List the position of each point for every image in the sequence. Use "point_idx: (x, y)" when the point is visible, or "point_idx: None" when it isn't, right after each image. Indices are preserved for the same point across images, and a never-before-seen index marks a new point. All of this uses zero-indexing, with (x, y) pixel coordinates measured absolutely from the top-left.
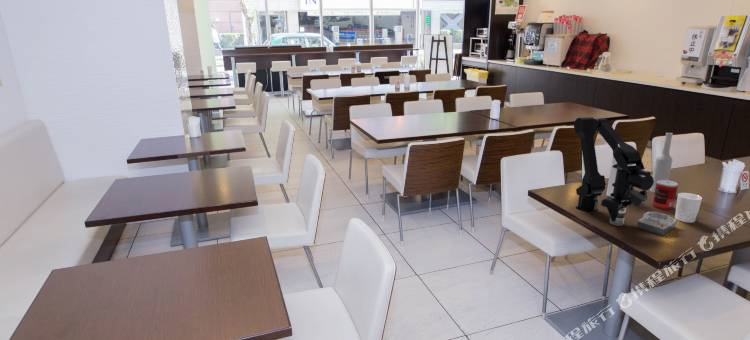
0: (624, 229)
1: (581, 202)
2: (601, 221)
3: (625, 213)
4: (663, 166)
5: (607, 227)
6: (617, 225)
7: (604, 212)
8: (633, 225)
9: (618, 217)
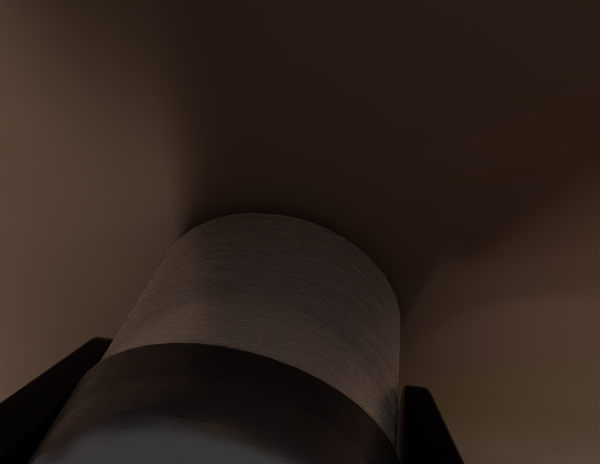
0: (446, 120)
1: None
2: None
3: (137, 462)
4: None
5: (568, 362)
6: (382, 278)
7: None
8: (48, 55)
9: (386, 451)
